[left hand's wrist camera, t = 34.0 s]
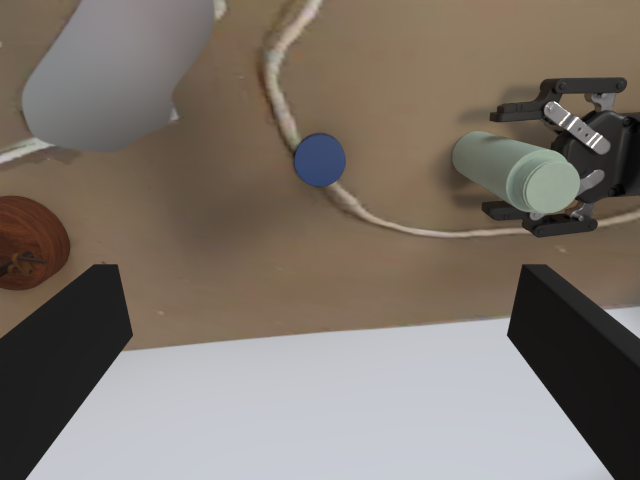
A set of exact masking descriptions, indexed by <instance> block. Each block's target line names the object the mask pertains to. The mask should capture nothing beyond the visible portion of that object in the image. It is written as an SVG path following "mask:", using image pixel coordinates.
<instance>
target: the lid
mask: <svg viewBox="0 0 640 480" xmlns="http://www.w3.org/2000/svg"><path fill="white" fill-rule="evenodd" d="M294 163H295V168H296V171H297V173H298V175H299V176H300V178H301V179H302V180H303V181H305V182H306V183H308V184H310V185H313V186H317V187H322V186H327V185H330V184H332V183H334V182H335V181H336V180H338V179H339V177H340V176H341V175H342V173H343V171H344V168H345V154H344V151H343V149H342V146H341V145H340V143H339V142H338V141H337V140H336V139H335V138H334V137H332V136H330V135H328V134H324V133H316V134H312V135H309V136H308V137H306V138H305V139H304V140H303V141H302V142H301V143H300V144H299V146H298V148H297V151H296V154H295V159H294Z"/></svg>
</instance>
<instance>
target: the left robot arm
mask: <svg viewBox="0 0 640 480" xmlns="http://www.w3.org/2000/svg"><path fill="white" fill-rule="evenodd" d="M132 336H133V333H132V328H131V324H130V319H129V315H128V310H127V305H126V301H125V296H124V292H123V287H122V283H121V278H120V273H119V269H118V264H94V265H93V266H91V267H90V268H89V269H88V270H86V271H85V272H84V273H83V274H81V275H80V276H79V277H78V278H76V279H75V280H74V281H73V282H71V283H70V284H69V285H67V286H66V287H65V288H64V289H62V290H61V291H60V292H59V293H57V294H56V295H55V296H54V297H52V298H51V299H50V300H49V301H47V302H46V303H45V304H44V305H42V306H41V307H40V308H38V309H37V310H36V311H35V312H33V313H32V314H31V315H30V316H28V317H27V318H26V319H25V320H23V321H22V322H21V323H20V324H18V325H17V326H16V327H15V328H13V329H12V330H11V331H9V332H8V333H7V334H6V335H4V336H3V337H2V338H1V339H0V480H25V479H26V478H27V477H28V475H29V474H30V473H31V471H32V470H33V469H34V467H35V466H36V465H37V463H38V462H39V461H40V459H41V458H42V457H43V455H44V454H45V453H46V451H47V450H48V449H49V447H50V446H51V445H52V443H53V442H54V441H55V439H56V438H57V437H58V435H59V434H60V433H61V431H62V430H63V429H64V427H65V426H66V425H67V423H68V422H69V421H70V419H71V418H72V417H73V415H74V414H75V413H76V411H77V410H78V408H79V407H80V406H81V404H82V403H83V402H84V400H85V399H86V398H87V396H88V395H89V394H90V392H91V391H92V390H93V388H94V387H95V386H96V384H97V383H98V382H99V380H100V379H101V378H102V376H103V375H104V374H105V372H106V371H107V370H108V368H109V367H110V366H111V364H112V363H113V362H114V360H115V359H116V358H117V356H118V355H119V354H120V352H121V351H122V350H123V348H124V347H125V346H126V344H127V343H128V342H129V340H130V339H131V338H132ZM507 336H508V337H509V339H510V340H511V342H512V343H513V344H514V346H515V347H516V348H517V350H518V351H519V352H520V354H521V355H522V356H523V357H524V359H525V360H526V362H527V363H528V364H529V366H530V367H531V368H532V370H533V371H534V372H535V374H536V375H537V376H538V378H539V379H540V380H541V382H542V383H543V384H544V386H545V387H546V388H547V390H548V391H549V392H550V394H551V395H552V396H553V398H554V399H555V400H556V402H557V403H558V404H559V406H560V407H561V408H562V410H563V411H564V412H565V414H566V415H567V417H568V418H569V419H570V421H571V422H572V423H573V425H574V426H575V427H576V429H577V430H578V431H579V433H580V434H581V435H582V437H583V438H584V439H585V441H586V442H587V443H588V445H589V446H590V447H591V449H592V450H593V451H594V453H595V454H596V455H597V457H598V458H599V459H600V461H601V462H602V463H603V465H604V466H605V467H606V469H607V470H608V471H609V473H610V474H611V475H612V477H613V478H614V479H615V480H640V339H639V338H638V337H637V336H635V335H634V334H633V333H632V332H630V331H629V330H628V329H627V328H625V327H624V326H623V325H622V324H620V323H619V322H618V321H617V320H615V319H614V318H613V317H612V316H610V315H609V314H608V313H607V312H605V311H604V310H603V309H602V308H600V307H599V306H598V305H596V304H595V303H594V302H593V301H591V300H590V299H589V298H588V297H586V296H585V295H584V294H583V293H581V292H580V291H579V290H578V289H576V288H575V287H574V286H573V285H571V284H570V283H569V282H567V281H566V280H565V279H564V278H562V277H561V276H560V275H559V274H557V273H556V272H555V271H554V270H552V269H551V268H550V267H549V266H547V265H546V264H522V269H521V273H520V278H519V283H518V287H517V292H516V296H515V301H514V305H513V310H512V315H511V319H510V324H509V328H508V333H507Z"/></svg>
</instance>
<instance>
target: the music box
mask: <svg viewBox="0 0 640 480" xmlns="http://www.w3.org/2000/svg"><path fill="white" fill-rule="evenodd" d="M68 254H69V242H68V238H67V235H66V232H65V230H64V228H63V226H62V225H61V223H60V222H59V221H58V219H57V218H56V217H55V216H54V215H53V214H52V213H51V212H50V211H49V210H47V209H46V208H45V207H43V206H42V205H40V204H38V203H36V202H34V201H32V200H29V199H27V198H23V197H18V196H4V197H0V288H4V289H9V290H26V289H30V288H33V287H36V286H38V285H39V284H41V283H42V282H44V281H45V280H47V279H48V278H49V277H51V276H52V275H54V274H55V273H56V272H58V271H59V270H60V269H61V268H62V267H63V266H64V264H65V263H66V261H67V258H68Z"/></svg>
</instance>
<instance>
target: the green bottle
mask: <svg viewBox="0 0 640 480" xmlns="http://www.w3.org/2000/svg"><path fill="white" fill-rule="evenodd" d="M452 161H453V165H454V167H455V169H456V170H457V171H458V172H459V173H460V174H462V175H464V176H465V177H467V178H469V179H470V180H472V181H473V182H475V183H477V184H478V185H480V186H481V187H483V188H485V189H486V190H488V191H490V192H491V193H493V194H494V195H496V196H498V197H499V198H501V199H503V200H504V201H506V202H507V203H509V204H511V205H512V206H514V207H516V208H517V209H519V210H521V211H525V212H536V213H539V214H544V213H554V212H557V211H560V210H562V209H564V208H565V207H567V206H568V205H569V204H570V203H571V202H572V201H573V200H574V198H575V197H576V195H577V193H578V191H579V187H580V177H579V174H578V172H577V170H576V169H575V168H574V167H573V166H572V164H570V163H568V162H567V160H566V159H565V158H564V157H563V156H562V155H561V154H560V153H558V152H556V151H553V150H549V149H545V148H542V147H538V146H534V145H531V144H527V143H523V142H520V141H516V140H512V139H509V138H505V137H501V136H498V135H494V134H490V133H487V132H483V131H474V132H470V133H468V134H466V135H464V136H463V137H462V138H461V139H460V140H459V141H458V142H457V143H456V145H455V147H454V149H453V153H452Z"/></svg>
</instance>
